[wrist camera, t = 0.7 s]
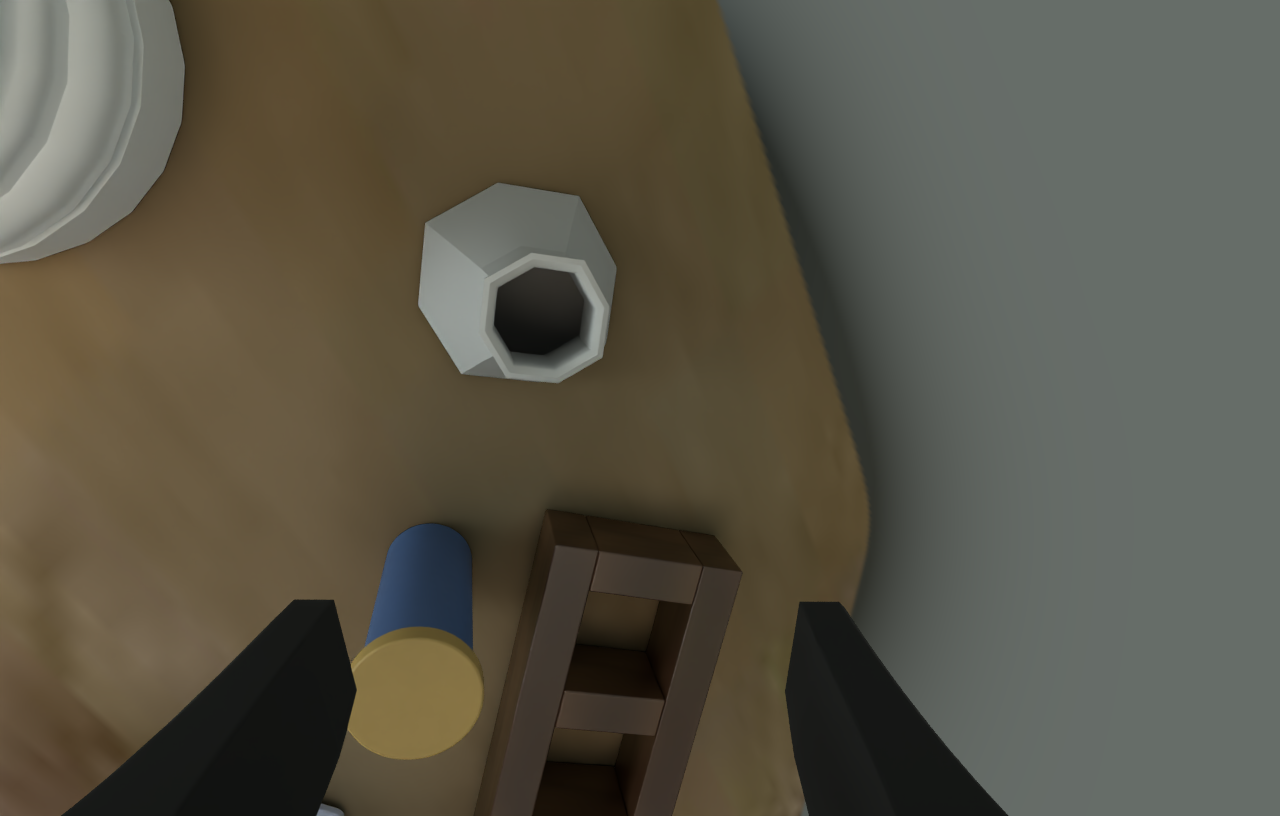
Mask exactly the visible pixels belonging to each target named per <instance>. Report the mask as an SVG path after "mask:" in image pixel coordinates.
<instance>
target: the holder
mask: <svg viewBox="0 0 1280 816" xmlns="http://www.w3.org/2000/svg"><path fill="white" fill-rule="evenodd" d="M741 576H742V571H741V569H740V568H739V567H738V566H737V564H736V563H735V562H734V560H733V559H732V558H731V556H730V555H729V554H728V553H727V551H726V550H725V549H724V547H723V546H722V545H721V544H720V542H719V541H718V540H717V538H716V537H715V536H713V535H707V534H701V533H694V532H688V531H682V530H679V531H678V530H674V529H668V528H661V527H655V526H649V525H643V524H636V523H630V522H624V521H617V520H611V519H605V518H599V517H592V516H586V517H585V516H584V515H580V514H574V513H568V512H561V511H555V510H549V509H547V510H546V511H545V516H544V520H543V524H542V528H541V533H540V537H539V541H538V545H537V550H536V554H535V558H534V562H533V567H532V571H531V575H530V579H529V584H528V588H527V592H526V596H525V601H524V605H523V609H522V613H521V618H520V622H519V626H518V630H517V634H516V639H515V643H514V647H513V651H512V656H511V660H510V664H509V668H508V673H507V677H506V681H505V685H504V690H503V694H502V698H501V702H500V707H499V711H498V715H497V719H496V724H495V728H494V732H493V736H492V741H491V745H490V749H489V753H488V758H487V762H486V766H485V770H484V775H483V779H482V783H481V787H480V792H479V796H478V800H477V804H476V809H475V813H474V816H672V814H673V810H674V807H675V804H676V800H677V797H678V793H679V790H680V786H681V783H682V779H683V776H684V773H685V769H686V766H687V762H688V759H689V755H690V752H691V748H692V745H693V742H694V738H695V735H696V731H697V728H698V724H699V721H700V717H701V714H702V711H703V707H704V704H705V700H706V697H707V693H708V690H709V687H710V683H711V680H712V676H713V673H714V669H715V666H716V662H717V659H718V656H719V652H720V649H721V645H722V642H723V638H724V635H725V631H726V628H727V625H728V621H729V618H730V614H731V611H732V607H733V604H734V600H735V597H736V594H737V590H738V587H739V583H740V580H741ZM589 590H590V591H593V592H601V593H608V594H616V595H623V596H631V597H638V598H646V599H653V600H660V603H659V607H658V610H657V614H656V618H655V621H654V625H653V629H652V632H651V636H650V640H649V644H648V647H647V651H646V653H645V652H639V651H630V650H621V649H613V648H604V647H595V646H586V645H577V644H576V640H577V636H578V632H579V628H580V624H581V620H582V616H583V612H584V608H585V604H586V600H587V596H588V592H589ZM554 727H556V728H565V729H577V730H589V731H601V732H613V733H624V736H623V739H622V743H621V747H620V751H619V754H618V758H617V762H616V765H615V768H614V767H612V766H599V765H585V764H571V763H557V762H546V759H547V755H548V751H549V747H550V743H551V739H552V735H553V731H554Z"/></svg>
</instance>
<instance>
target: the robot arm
mask: <svg viewBox="0 0 1280 816" xmlns="http://www.w3.org/2000/svg"><path fill="white" fill-rule="evenodd" d="M356 692H357V688H356V684H355V680H354V677H353V673H352V669H351V665H350V661H349V657H348V653H347V649H346V645H345V642H344V638H343V634H342V630H341V626H340V622H339V618H338V614H337V610H336V607H335V603H334V600H293V601H292V602H291V603H290V604H289V605H288V606H287V607H286V608H285V609H284V610H283V611H282V612H281V613H280V614H279V615H278V616H277V617H276V618H275V619H274V620H273V621H272V622H271V623H270V624H269V625H268V626H267V627H266V628H265V629H264V630H263V631H262V632H261V633H260V634H259V635H258V636H257V637H256V638H255V639H254V640H253V641H252V642H251V643H250V644H249V645H248V646H247V647H246V648H245V649H244V650H243V651H242V652H241V653H240V654H239V655H238V656H237V657H236V658H235V659H234V660H233V661H232V662H231V663H230V664H229V665H228V666H227V667H226V668H225V669H224V670H223V671H222V672H221V673H220V674H219V675H218V676H217V677H216V678H215V679H214V680H213V681H212V682H211V683H210V684H209V685H208V686H207V687H206V688H205V689H204V690H203V691H202V692H200V693H199V694H198V695H197V696H196V697H195V698H194V699H193V700H192V701H191V702H190V703H189V704H188V705H187V706H186V707H185V708H184V709H183V710H182V711H181V712H180V713H179V714H178V715H177V716H176V717H175V718H173V719H172V720H171V721H170V722H169V723H168V724H167V725H166V726H165V727H164V728H163V729H162V730H160V731H159V732H158V733H157V734H156V735H155V736H154V737H153V738H152V739H150V740H149V741H148V742H147V743H146V744H145V745H144V746H143V747H141V748H140V749H139V750H138V751H137V752H136V753H135V754H134V755H133V756H131V757H130V758H129V759H128V760H127V761H126V762H125V763H124V764H123V765H121V766H120V767H119V768H118V769H117V770H116V771H115V772H114V773H112V774H111V775H110V776H109V777H108V778H107V779H105V780H104V781H103V782H102V783H101V784H99V785H98V786H97V787H96V788H95V789H94V790H92V791H91V792H90V793H89V794H88V795H86V796H85V797H84V798H83V799H81V800H80V801H79V802H78V803H77V804H75V805H74V806H73V807H72V808H70V809H69V810H68V811H67V812H65V813H64V814H63V815H61V816H344V813H343V812H342V811H341V810H340V809H338V808H335V807H332V806H328V805H325V804H322V800H323V798H324V795H325V793H326V790H327V788H328V785H329V782H330V780H331V777H332V775H333V772H334V770H335V767H336V764H337V762H338V759H339V756H340V753H341V749H342V746H343V742H344V739H345V735H346V731H347V728H348V724H349V720H350V716H351V712H352V708H353V704H354V700H355V696H356ZM785 694H786V701H787V709H788V716H789V724H790V731H791V737H792V744H793V751H794V757H795V761H796V765H797V769H798V773H799V777H800V781H801V785H802V789H803V793H804V797H805V801H806V805H807V809H808V813H809V816H1008V815H1007V814H1006V813H1005V812H1004V811H1003V810H1002V808H1001V807H1000V806H999V805H998V804H997V803H996V802H995V801H994V800H993V799H992V798H991V796H990V795H989V794H988V793H987V792H986V791H985V790H984V789H983V788H982V787H981V786H980V784H979V783H978V782H977V781H976V780H975V779H974V778H973V776H972V775H971V774H970V773H969V772H968V771H967V769H966V768H965V767H964V766H963V765H962V764H961V763H960V761H959V760H958V759H957V758H956V757H955V756H954V755H953V753H952V752H951V751H950V750H949V749H948V747H947V746H946V745H945V744H944V742H943V741H942V740H941V739H940V738H939V736H938V735H937V734H936V733H935V731H934V730H933V729H932V728H931V727H930V725H929V724H928V723H927V721H926V720H925V719H924V718H923V716H922V715H921V714H920V712H919V711H918V710H917V709H916V707H915V706H914V705H913V703H912V702H911V701H910V700H909V698H908V697H907V696H906V694H905V693H904V692H903V691H902V689H901V688H900V686H899V685H898V684H897V683H896V681H895V680H894V679H893V677H892V676H891V674H890V673H889V672H888V670H887V669H886V667H885V666H884V665H883V663H882V662H881V660H880V659H879V658H878V656H877V655H876V654H875V652H874V651H873V649H872V648H871V646H870V645H869V643H868V642H867V640H866V639H865V638H864V636H863V635H862V633H861V632H860V630H859V629H858V628H857V626H856V624H855V623H854V621H853V620H852V618H851V617H850V615H849V614H848V612H847V611H846V609H845V608H844V607H843V606H842V605H841V604H840V603H839V602H800V603H799V609H798V615H797V621H796V627H795V633H794V640H793V646H792V652H791V658H790V664H789V671H788V677H787V683H786V689H785Z"/></svg>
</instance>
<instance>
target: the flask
mask: <svg viewBox="0 0 1280 816" xmlns="http://www.w3.org/2000/svg"><path fill="white" fill-rule="evenodd" d="M616 270H617V267H616V265H615V263H614V261H613V259H612V257H611V256H610V254H609V252H608V250H607V248H606V246H605V244H604V242H603V240H602V239H601V237H600V235H599V233H598V231H597V229H596V227H595V225H594V223H593V222H592V220H591V218H590V216H589V214H588V212H587V210H586V208H585V206H584V205H583V203H582V201H581V199H580V197H579V196H575V195H569V194H563V193H557V192H551V191H545V190H539V189H533V188H527V187H521V186H515V185H509V184H503V183H496V184H495V185H493V186H491V187H489V188H487V189H486V190H484V191H482V192H480V193H478V194H477V195H475V196H473V197H471V198H469V199H468V200H466V201H464V202H462V203H460V204H458V205H457V206H455V207H453V208H451V209H449V210H448V211H446V212H444V213H442V214H440V215H439V216H437V217H435V218H433V219H431V220H429V221H428V222H426V223H425V232H424V244H423V255H422V266H421V278H420V289H419V300H418V306H419V308H420V309H421V311H422V312H423V314H424V316H425V317H426V319H427V320H428V322H429V324H430V325H431V327H432V328H433V330H434V331H435V333H436V335H437V336H438V338H439V339H440V341H441V343H442V344H443V346H444V347H445V349H446V350H447V352H448V354H449V355H450V357H451V358H452V360H453V362H454V363H455V365H456V366H457V368H458V369H459V371H460V373H461V374H466V375H476V376H485V377H495V378H504V379H514V380H523V381H533V382H541V381H542V382H552V383H559V382H561V381H563V380H564V379H566V378H568V377H570V376H571V375H573V374H575V373H576V372H578V371H580V370H582V369H583V368H585V367H587V366H589V365H590V364H592V363H594V362H596V361H597V360H599V359H601V358H602V357H603V350H604V345H605V344H606V341H607V334H608V327H609V320H610V313H611V305H612V298H613V291H614V284H615V277H616Z"/></svg>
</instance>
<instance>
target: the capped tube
mask: <svg viewBox="0 0 1280 816" xmlns="http://www.w3.org/2000/svg"><path fill="white" fill-rule="evenodd" d="M351 669H352V673H353V677H354V680H355V684H356V688H357V692H356V696H355V700H354V704H353V708H352V712H351V716H350V720H349V724H348V730H349V732H350V733H351V734H352V736H353V737H354V738H355V739H356V740H357V741H358V742H359V743H360V744H361V745H363V746H364V747H365V748H367V749H368V750H370V751H372V752H374V753H376V754H379V755H381V756H384V757H388V758H392V759H399V760H413V759H421V758H426V757H430V756H433V755H436V754H439V753H441V752H443V751H445V750H447V749H449V748H451V747H452V746H454V745H455V744H456V743H458V742H459V741H460V740H461V739H462V738H464V737H465V736H466V735H467V733H468V732H469V731H470V730H471V729H472V727H473V726H474V724H475V723H476V721H477V719H478V717H479V715H480V712H481V709H482V706H483V701H484V678H483V671H482V668H481V664H480V662H479V660H478V658H477V656H476V655H475V653H474V652H473V620H472V555H471V551H470V548H469V546H468V544H467V542H466V541H465V539H464V538H463V537H462V536H461V535H460V534H459V533H458V532H456V531H455V530H453V529H451V528H449V527H447V526H444V525H440V524H421V525H417V526H414V527H411V528H409V529H407V530H405V531H404V532H403V533H401V534H400V535H399V536H398V537H397V538H396V539H395V540H394V541H393V543H392V544H391V546H390V548H389V550H388V553H387V557H386V561H385V565H384V569H383V573H382V577H381V582H380V586H379V590H378V594H377V598H376V602H375V606H374V610H373V614H372V619H371V623H370V627H369V631H368V635H367V639H366V643H365V647H364V648H363V649H362V650H361V651H360V653H359V654H358V655H357V656H356V657H355V659H354V660H353V662H352V663H351Z"/></svg>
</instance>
